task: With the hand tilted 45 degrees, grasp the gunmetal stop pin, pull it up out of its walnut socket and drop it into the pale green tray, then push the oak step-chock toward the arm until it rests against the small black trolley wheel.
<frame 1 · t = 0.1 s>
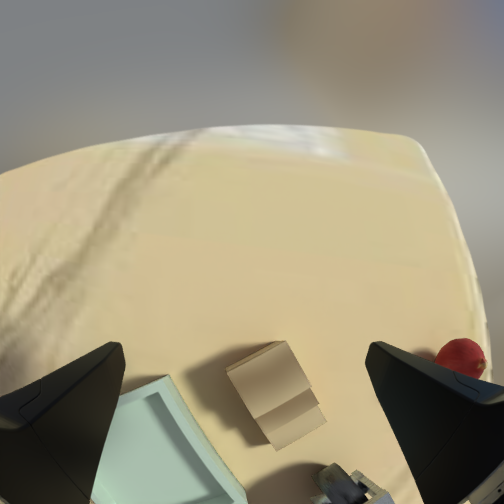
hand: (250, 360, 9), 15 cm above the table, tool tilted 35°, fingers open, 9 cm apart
chock: (273, 394, 22), on the table
tray: (144, 461, 18), on the table
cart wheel: (328, 480, 19), on the table
onion: (435, 365, 24), on the table
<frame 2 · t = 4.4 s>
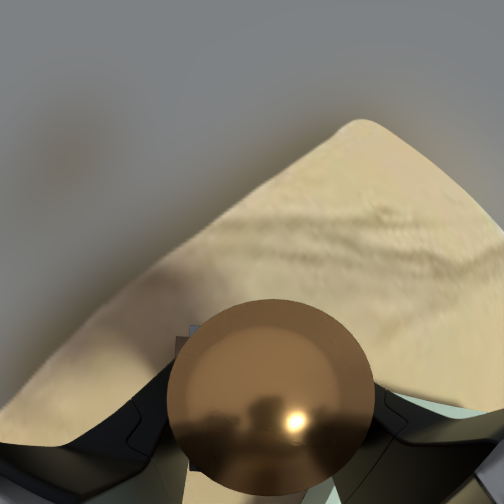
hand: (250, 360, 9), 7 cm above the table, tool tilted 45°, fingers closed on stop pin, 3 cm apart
stop pin: (238, 399, 14), resting on pin socket, touching gripper
tray: (394, 495, 11), on the table
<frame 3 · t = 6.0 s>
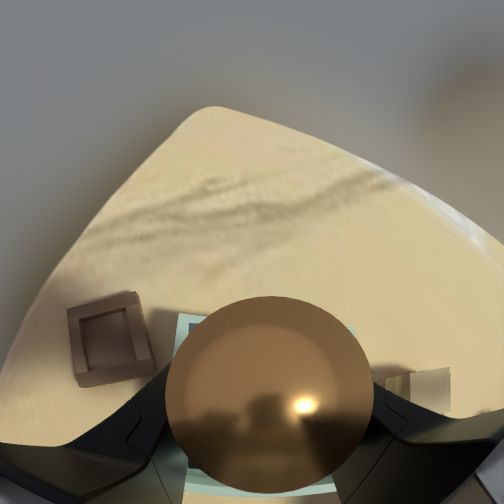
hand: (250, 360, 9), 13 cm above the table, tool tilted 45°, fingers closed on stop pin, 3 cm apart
stop pin: (238, 398, 14), point 7 cm above the table, touching gripper
chock: (403, 418, 20), on the table
tray: (259, 411, 19), on the table
pin socket: (110, 342, 21), on the table
when the fingers open (8 cm above the table, at t = 7.6 s): stop pin drops 1 cm, resting on tray.
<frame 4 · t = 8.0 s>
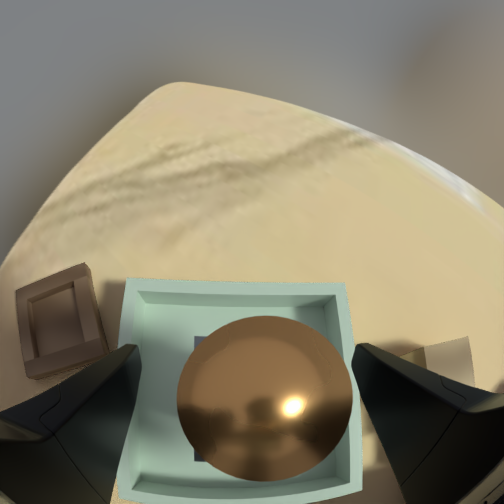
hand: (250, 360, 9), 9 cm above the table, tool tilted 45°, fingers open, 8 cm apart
stop pin: (237, 399, 15), point 1 cm above the table, touching tray
chock: (419, 404, 16), on the table
tray: (236, 399, 16), on the table
pin socket: (60, 324, 16), on the table
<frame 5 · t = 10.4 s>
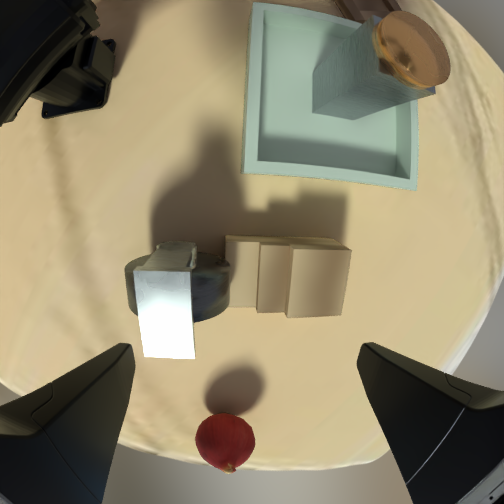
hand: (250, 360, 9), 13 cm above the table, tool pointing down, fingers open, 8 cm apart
stop pin: (333, 96, 18), point 1 cm above the table, touching tray
chock: (277, 266, 23), on the table
tray: (329, 98, 19), on the table
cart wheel: (184, 266, 21), on the table
onion: (223, 413, 26), on the table
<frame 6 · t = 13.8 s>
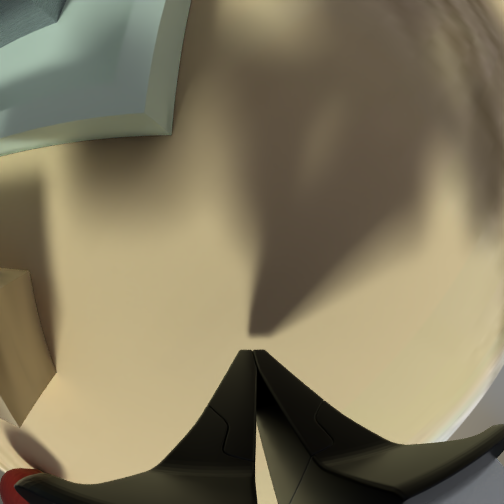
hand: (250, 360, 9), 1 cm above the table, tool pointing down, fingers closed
stop pin: (38, 4, 5), point 1 cm above the table, touching tray
tray: (47, 10, 5), on the table
onion: (41, 470, 12), on the table
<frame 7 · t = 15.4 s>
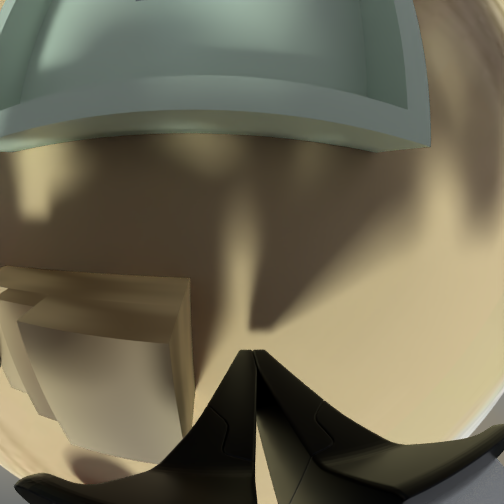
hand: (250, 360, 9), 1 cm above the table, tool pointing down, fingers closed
chock: (91, 328, 9), on the table
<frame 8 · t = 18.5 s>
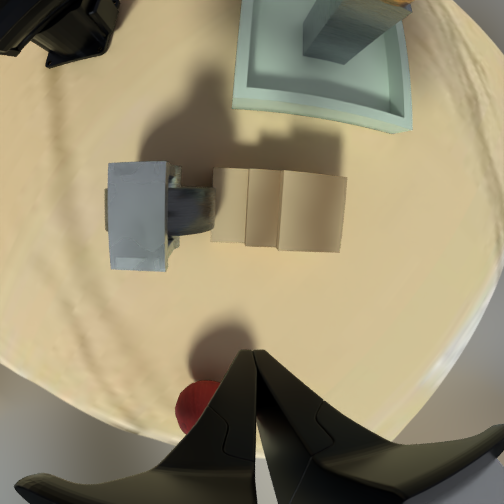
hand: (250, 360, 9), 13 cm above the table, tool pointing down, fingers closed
stop pin: (323, 43, 17), point 1 cm above the table, touching tray
chock: (269, 204, 21), on the table
tray: (320, 46, 18), on the table
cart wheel: (170, 201, 20), on the table
onion: (209, 383, 25), on the table
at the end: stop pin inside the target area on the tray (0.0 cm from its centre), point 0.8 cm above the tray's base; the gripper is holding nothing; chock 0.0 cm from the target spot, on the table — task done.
